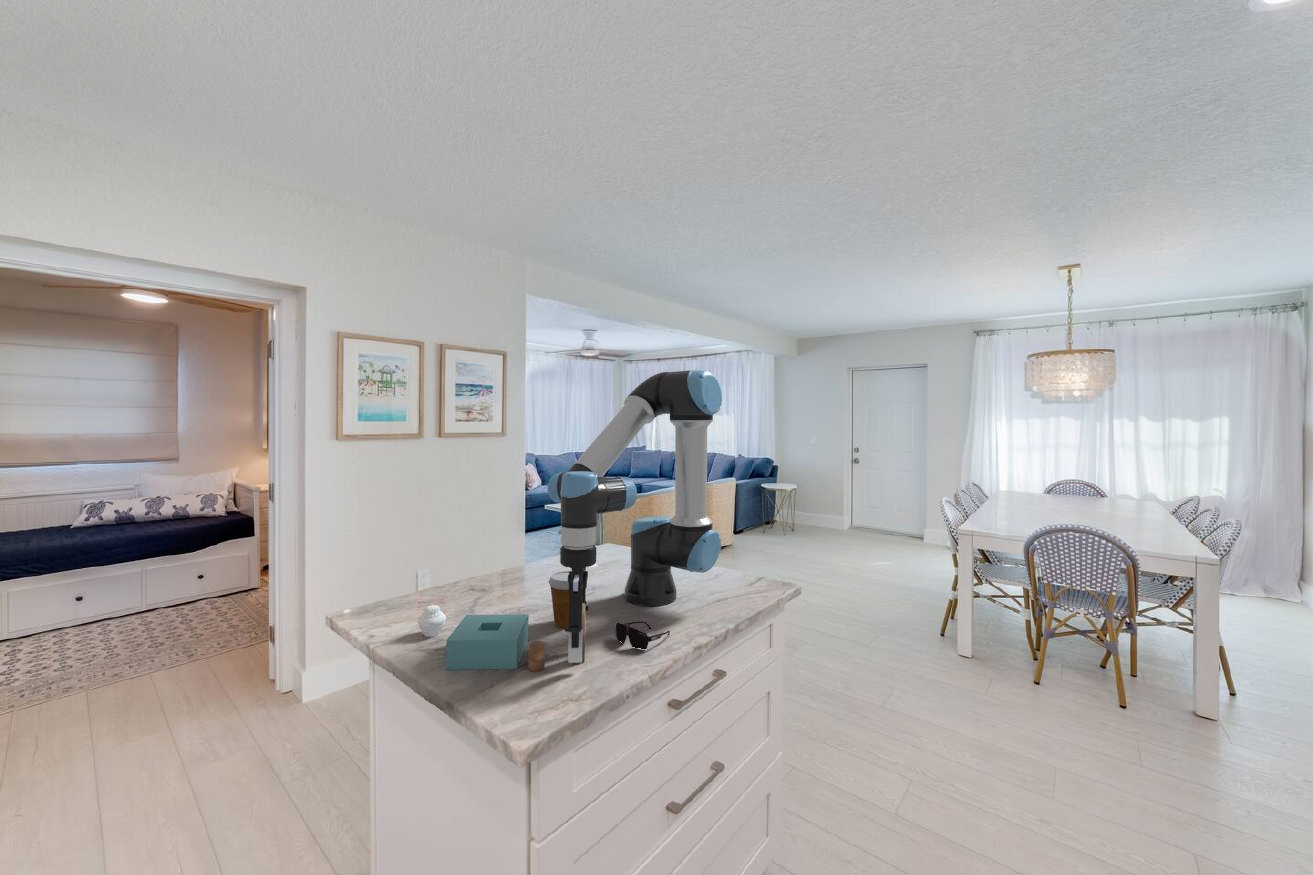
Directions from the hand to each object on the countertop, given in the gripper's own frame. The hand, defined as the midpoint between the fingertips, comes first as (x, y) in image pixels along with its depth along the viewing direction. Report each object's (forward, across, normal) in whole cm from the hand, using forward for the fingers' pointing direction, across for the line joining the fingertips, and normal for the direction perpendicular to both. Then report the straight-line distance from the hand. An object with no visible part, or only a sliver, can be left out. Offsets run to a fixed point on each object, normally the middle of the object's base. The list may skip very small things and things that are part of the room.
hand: (577, 651), depth 111 cm
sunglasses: (+3, -11, +15) cm, 18 cm away
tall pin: (+2, 0, 0) cm, 2 cm away
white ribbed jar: (+2, -15, -35) cm, 38 cm away
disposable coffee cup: (+2, -21, -4) cm, 21 cm away
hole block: (+2, -4, -19) cm, 20 cm away
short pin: (+2, +3, -8) cm, 9 cm away
